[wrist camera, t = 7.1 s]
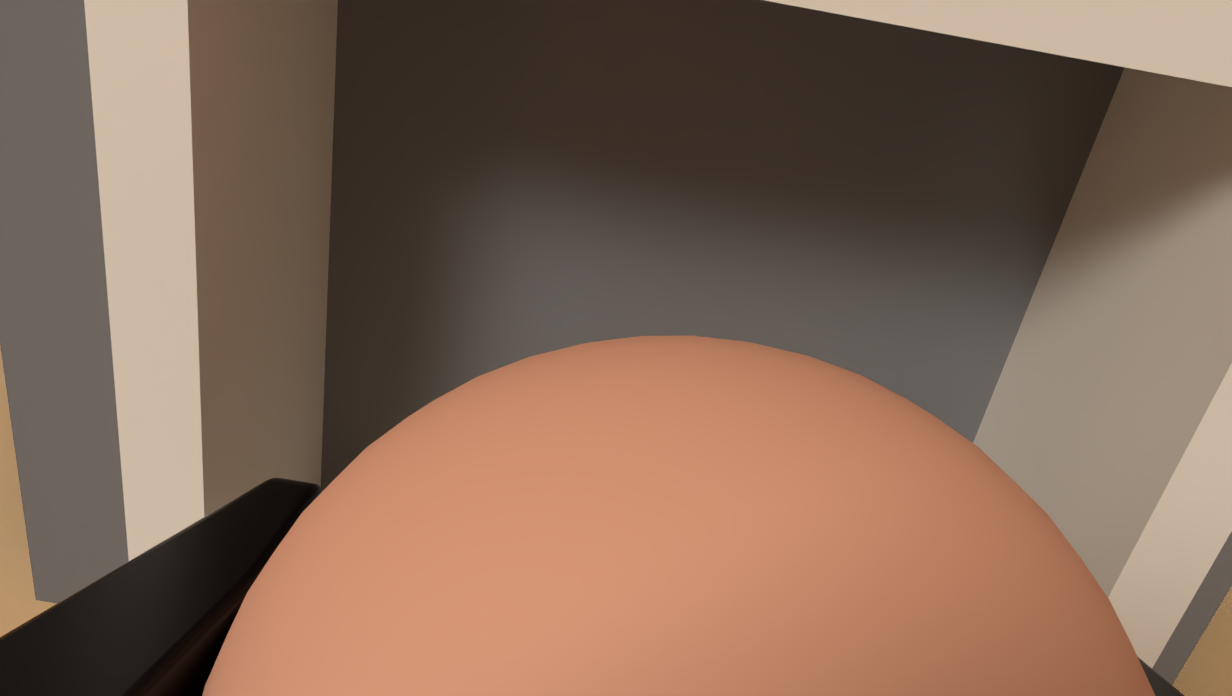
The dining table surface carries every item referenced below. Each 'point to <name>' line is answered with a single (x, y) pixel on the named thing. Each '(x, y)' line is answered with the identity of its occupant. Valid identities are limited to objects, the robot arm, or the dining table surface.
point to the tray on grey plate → (619, 240)
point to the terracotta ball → (674, 546)
